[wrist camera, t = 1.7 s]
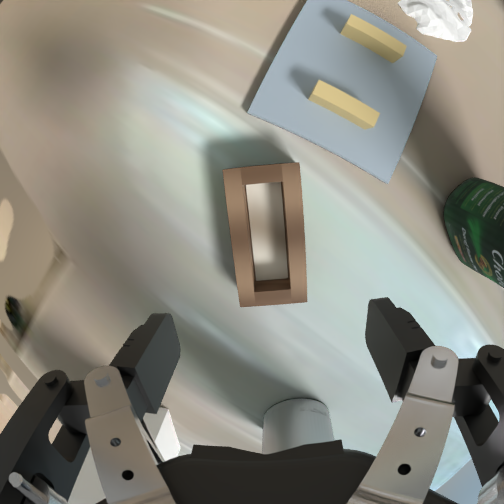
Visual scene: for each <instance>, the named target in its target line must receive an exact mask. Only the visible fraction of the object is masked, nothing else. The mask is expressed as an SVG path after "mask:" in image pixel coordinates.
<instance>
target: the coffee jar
mask: <svg viewBox="0 0 504 504" xmlns="http://www.w3.org/2000/svg"><path fill="white" fill-rule="evenodd" d="M444 221H445V225H446V228H447V232H448V235H449V238H450V241H451V243H452V246H453V248H454V250H455V252H456V254H457V256H458V258H459V260H460V261H461V262H462V263H463V264H465V265H466V266H468V267H470V268H471V269H473V270H474V271H476V272H478V273H480V274H481V275H483V276H485V277H487V278H489V279H490V280H492V281H494V282H495V283H497V284H498V285H500V286H502V287H503V288H504V187H502V186H500V185H497V184H495V183H492V182H489V181H486V180H483V179H479V178H470V179H468V180H466V181H465V182H463V183H462V184H461V185H459V186H458V187H457V188H456V189H455V190H454V191H453V192H452V193H451V195H450V196H449V197H448V199H447V202H446V204H445V208H444Z"/></svg>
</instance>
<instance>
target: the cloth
mask: <svg viewBox="0 0 504 504" xmlns="http://www.w3.org/2000/svg"><path fill="white" fill-rule="evenodd" d="M398 4H399V6H400V7H401V9H402V10H403V11H404V12H405V13H406V14H407V15H408V16H411V17H413V18H415V20H416V21H417V23H418V25H417V30H418V31H420V32H421V33H422V34H426V35H430V36H434V37H436V38H442V39H445V40H451V41H454V42H459V41H461V42H463V41H466V40H467V38H468V36H469V33H470V32H471V29H470V28H469V27H468V26H471V25H470V24H472V21H471V20H472V17H473V9H472V2H471V0H449V2H448V1H446V0H401V1H400V2H398ZM449 5H450V6H452V8H451V7H450V6H449ZM458 12H459V14H460V15H461V17H462V18H463V21H462V20H461V19H459V17H458V15H457V14H458Z"/></svg>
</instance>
